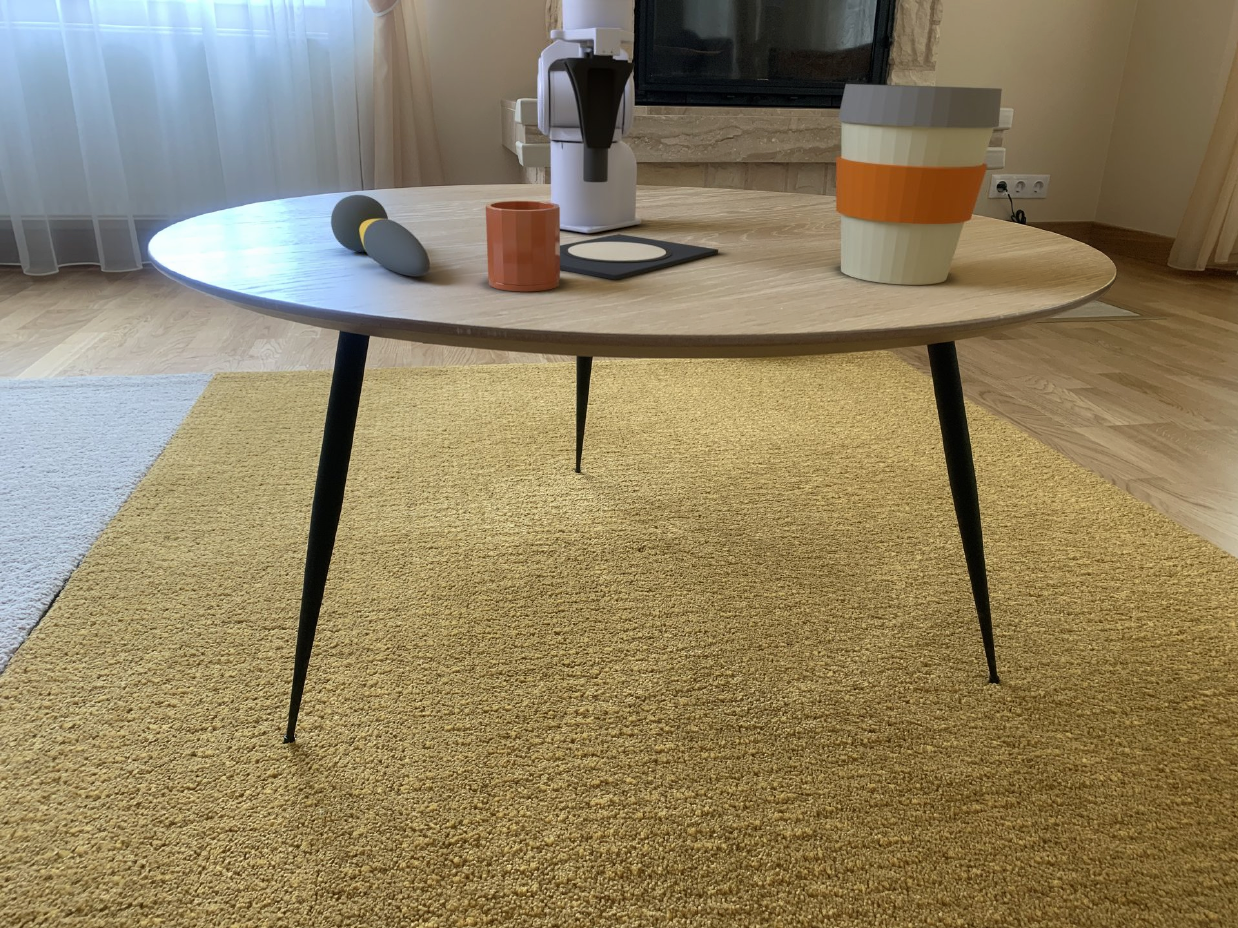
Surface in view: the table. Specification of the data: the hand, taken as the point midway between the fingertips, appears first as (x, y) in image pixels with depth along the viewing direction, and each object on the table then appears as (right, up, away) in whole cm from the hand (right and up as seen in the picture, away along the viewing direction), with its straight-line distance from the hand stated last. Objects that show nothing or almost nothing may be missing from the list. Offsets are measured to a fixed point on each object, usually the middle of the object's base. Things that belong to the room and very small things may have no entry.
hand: (596, 147), depth 77 cm
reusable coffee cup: (+26, -12, -1) cm, 29 cm away
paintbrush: (-18, -11, -2) cm, 21 cm away
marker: (0, -3, +1) cm, 3 cm away
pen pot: (-6, -14, -8) cm, 17 cm away
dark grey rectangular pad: (+2, -9, +3) cm, 10 cm away
